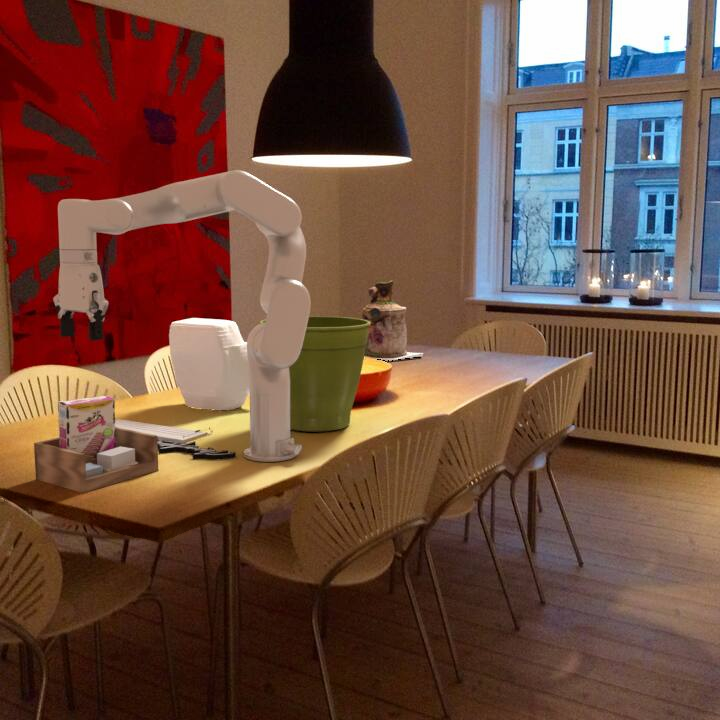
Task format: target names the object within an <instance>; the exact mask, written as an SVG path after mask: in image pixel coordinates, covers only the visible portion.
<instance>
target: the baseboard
mask: <svg viewBox="0 0 720 720" xmlns="http://www.w3.org/2000/svg"><path fill="white" fill-rule="evenodd" d="M115 427H119V428H123V429H128V430H133V431H137V432H142V433H147V434H151V435H156V436H157V439H162V440H169V441H176V442H183V443H190V442H193V441H195V440H199V439H201V437H202V438H204V436H205V437H207V435H208V436H211V435H213V433H214V432H213V431H214V430H212V429H211V428H210V427H208V430H210V433H209V432H206V431H205V429H204V430H201V429H197V430H194V429H193V430H192V429H187V428H179V427H173V426H167V425H160V424H154V423H146V422H140V421H134V420H128V419H120V418H119V419H118V418H117V419H115ZM198 438H199V439H198Z"/></svg>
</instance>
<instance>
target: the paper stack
mask: <svg viewBox="0 0 720 720" xmlns="http://www.w3.org/2000/svg"><path fill="white" fill-rule="evenodd" d="M168 339H169V341H168V342H169V354H170V360H171V365H172V368H173V371H174V372H173V373H174V379H175V385H176V387H177V388H179V390H180V394H181V396H182V398H183V399H184V403H185V406H189V407H194V408H201V409H214V410H227V411H232V410H235V409H238V408H241V407H242V406H244V405H245V403H246V402H247V398H248V396H249V395H250V381H249V365H248V357H247V341H244V338H243V337H242V334H241V333H240V328H239V326H238V325H237V323H236V322H235V321H232V320H229V319H228V320H227V319H215V318H200V317H191V318H190V317H189V318H185V319H181V320H176V321H172V322H171V324H170V325H169V333H168ZM189 407H188V408H189ZM194 408H193V409H194Z"/></svg>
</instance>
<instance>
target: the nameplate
mask: <svg viewBox="0 0 720 720" xmlns="http://www.w3.org/2000/svg"><path fill="white" fill-rule="evenodd" d="M157 442H158V454H160V453H161V454H168V453H169V452H170V453H184V454H186V455H188V454H189V453H190V454H191V455H192V460H207V459H208V460H209V461H210V460H211V461H215V460H217V459H220V460H230V458H231V459H235V458H237V452H236V451H230V452H229V450H228V449H226V450H224V449H223V450H218V451H217V450H216V449H214V448H213V447H207V448H202V447H200V446H198V445H196V441H195V440H193V441H190V442H187V443H183V442H176V441H169V440H162V439H157ZM234 457H235V458H234ZM217 461H218V460H217Z"/></svg>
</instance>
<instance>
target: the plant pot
mask: <svg viewBox="0 0 720 720" xmlns="http://www.w3.org/2000/svg"><path fill="white" fill-rule="evenodd" d="M265 322H266V318H265V319H261V320H260V321H259V324H261V323H265ZM369 326H370V321H367V320H363V319H362V318H355V317H344V316H343V317H342V316H330V315H329V316H327V315H326V316H323V315H322V316H319V315H317V316H316V315H315V316H313V315H311V316H310V315H309V319H308V323H307V328H306V332H305V337H304V341H303V345H302V349H301V352H300V355H299V357H298V359H297V360H296V362H295V363H294V364H293V365H291V366H290V367H289V371H290V427H291V430H293V431H297V432H298V431H299V432H312V433H314V432H315V433H316V432H331V431H336V430H341V429H344V428H346V427H348V426H349V425H350V423H351V415H352V414H351V412H352V409H353V405H354V403H355V402H354V401H355V398H356V395H357V391H358V388H359V383H360V379H361V374H362V369H363V364H364V360H365V359H364V353H365V346H366V344H367V336H368V327H369Z"/></svg>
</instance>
